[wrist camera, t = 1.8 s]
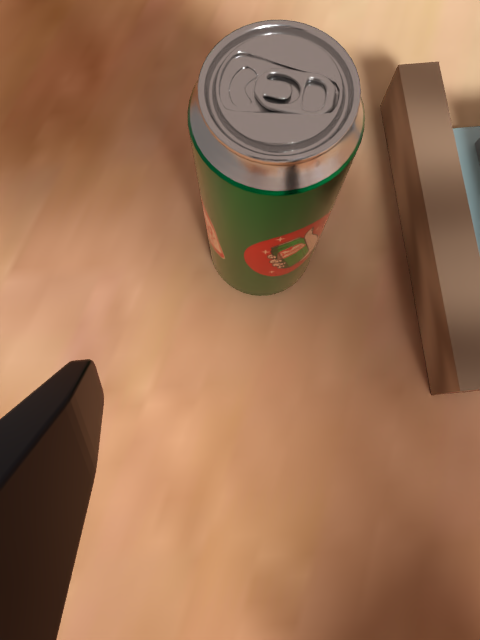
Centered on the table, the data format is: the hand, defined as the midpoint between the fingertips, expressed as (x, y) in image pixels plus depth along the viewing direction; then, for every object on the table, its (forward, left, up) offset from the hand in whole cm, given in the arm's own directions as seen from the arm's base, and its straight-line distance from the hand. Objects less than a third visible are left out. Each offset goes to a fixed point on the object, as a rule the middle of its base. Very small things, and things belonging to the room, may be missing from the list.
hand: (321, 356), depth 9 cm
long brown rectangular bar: (0, -11, -13) cm, 17 cm away
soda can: (+6, -5, -14) cm, 15 cm away
